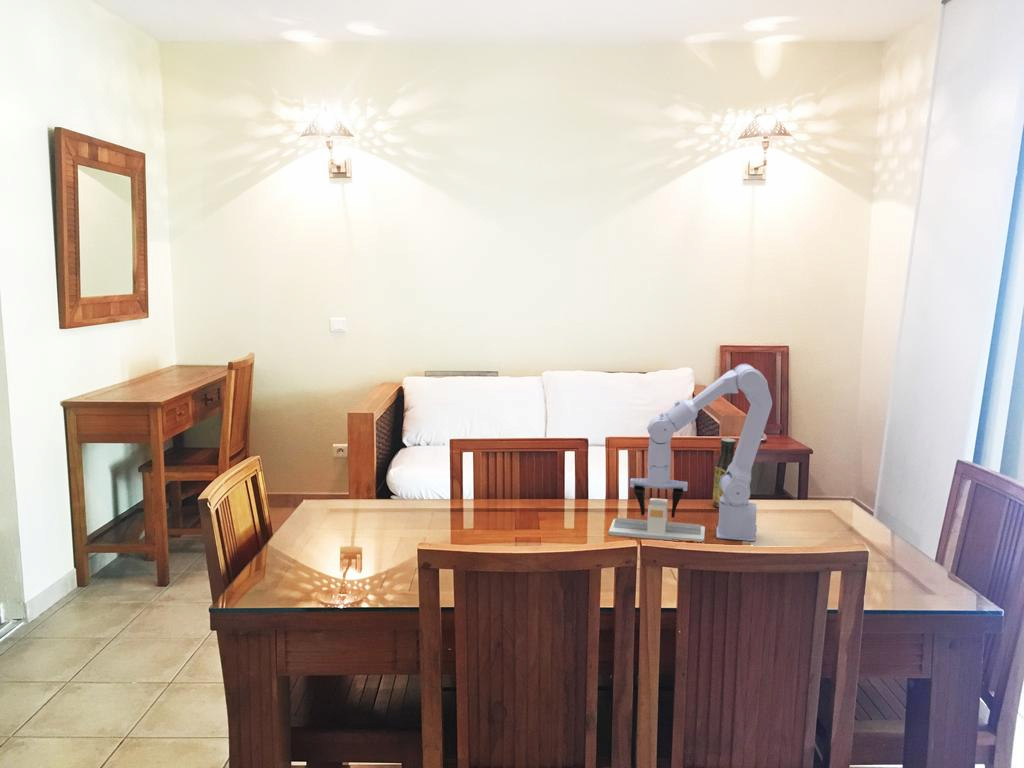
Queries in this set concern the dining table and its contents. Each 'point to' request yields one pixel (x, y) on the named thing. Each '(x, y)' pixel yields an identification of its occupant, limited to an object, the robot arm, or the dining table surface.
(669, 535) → the board
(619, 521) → the metal rail
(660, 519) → the block
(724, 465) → the sauce bottle
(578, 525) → the dining table surface
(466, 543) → the dining table surface
